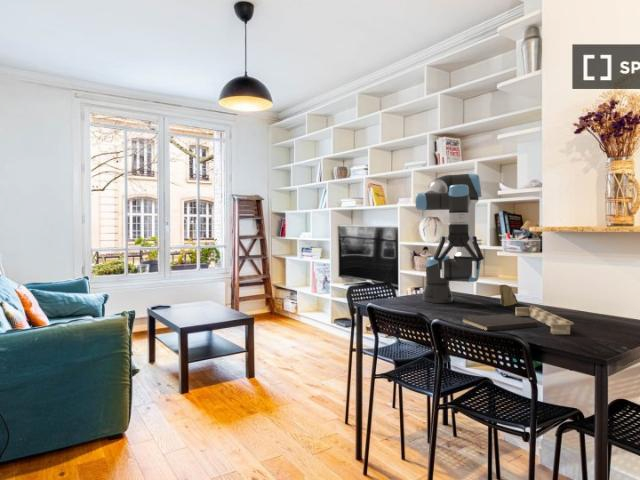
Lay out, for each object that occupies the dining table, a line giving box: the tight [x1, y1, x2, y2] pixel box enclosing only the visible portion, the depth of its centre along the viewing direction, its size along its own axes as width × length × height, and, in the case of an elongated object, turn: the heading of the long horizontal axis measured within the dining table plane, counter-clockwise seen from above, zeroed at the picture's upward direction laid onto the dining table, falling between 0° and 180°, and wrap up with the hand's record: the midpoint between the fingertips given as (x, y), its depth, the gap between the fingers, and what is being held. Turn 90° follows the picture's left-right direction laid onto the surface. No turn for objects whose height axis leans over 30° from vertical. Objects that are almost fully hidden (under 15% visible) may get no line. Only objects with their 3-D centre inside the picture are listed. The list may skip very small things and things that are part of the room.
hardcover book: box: [461, 313, 538, 332], centre depth 171 cm, size 16×23×2 cm
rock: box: [499, 284, 519, 307], centre depth 210 cm, size 11×9×10 cm
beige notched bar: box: [514, 304, 574, 335], centre depth 171 cm, size 31×8×4 cm, turn 178°
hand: (458, 277), depth 171 cm, fingers open, 12 cm apart
